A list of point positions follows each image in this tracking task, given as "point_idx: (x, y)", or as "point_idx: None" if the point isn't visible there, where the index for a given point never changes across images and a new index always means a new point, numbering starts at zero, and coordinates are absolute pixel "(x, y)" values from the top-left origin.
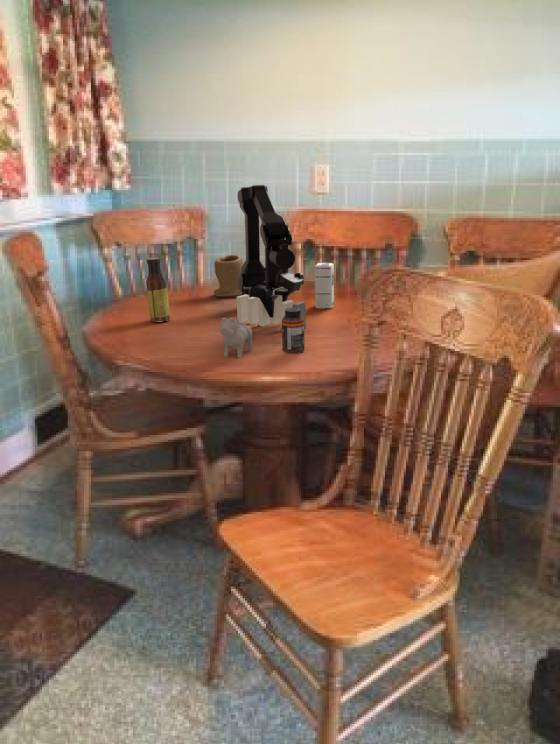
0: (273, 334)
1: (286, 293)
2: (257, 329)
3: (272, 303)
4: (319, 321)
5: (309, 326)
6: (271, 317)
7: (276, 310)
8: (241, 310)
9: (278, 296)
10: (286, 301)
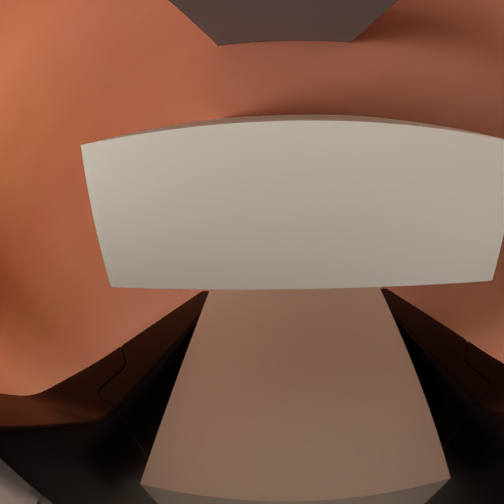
0: (495, 134)
1: (51, 465)
2: (429, 305)
3: (501, 377)
4: (12, 94)
5: (140, 30)
6: None
7: (335, 321)
8: None
9: (276, 500)
10: (283, 258)
